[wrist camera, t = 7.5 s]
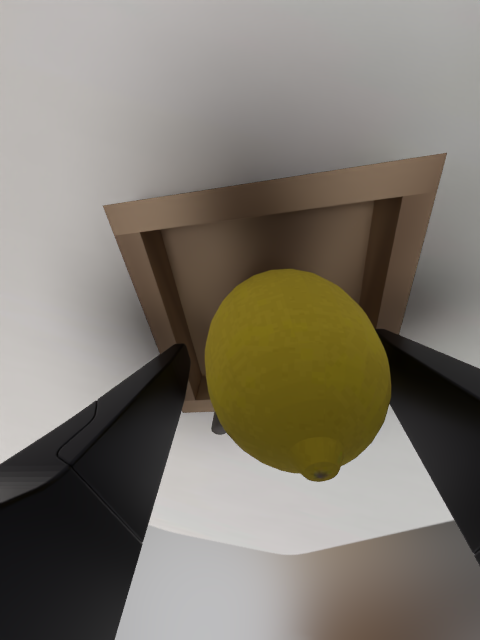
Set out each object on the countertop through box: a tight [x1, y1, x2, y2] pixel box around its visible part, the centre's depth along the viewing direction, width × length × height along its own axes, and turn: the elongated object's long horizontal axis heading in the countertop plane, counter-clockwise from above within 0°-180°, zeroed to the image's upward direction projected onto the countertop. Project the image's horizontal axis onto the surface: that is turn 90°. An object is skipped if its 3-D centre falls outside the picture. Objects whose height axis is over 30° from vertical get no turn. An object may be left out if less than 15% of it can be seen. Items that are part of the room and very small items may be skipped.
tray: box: [103, 153, 447, 435], centre depth 10 cm, size 11×11×4 cm
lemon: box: [205, 269, 391, 482], centre depth 8 cm, size 6×6×8 cm
